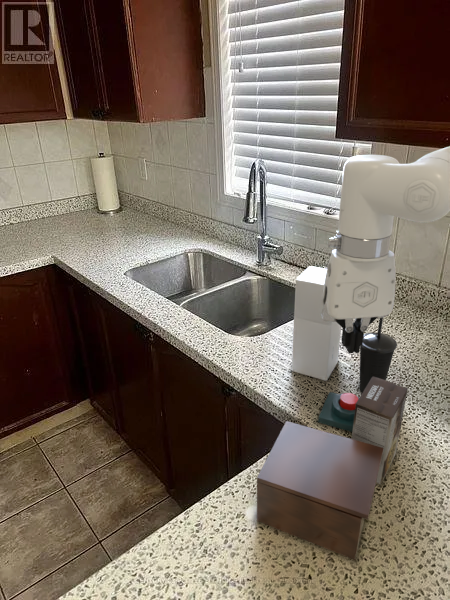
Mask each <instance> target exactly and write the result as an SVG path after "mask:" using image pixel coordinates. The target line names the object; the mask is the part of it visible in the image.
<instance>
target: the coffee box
mask: <svg viewBox="0 0 450 600" xmlns="http://www.w3.org/2000/svg"><path fill="white" fill-rule="evenodd" d="M408 390H409V388H408V387H406V386H403V385H400V384H397V383H394V382H392V381H389V380H387V379H386V380H383V379H380V378H377V377H372V378H371V380H370V381H369V383H368V385H367V386H366V388H365V389H364V391H363V393H361V394H360V396H359V399H358V401H357V402H356V407H355V414H354V423H353V431H352V432H351V439H353V440H357V441H361V442H364V443H368V444H371V445H375V446H379V447H382V448H384V449H383V454H382V459H381V463H380V468H379V472H378V477H377V481H376V484H379V485H381V484H383V482H384V480H385V478H386V476H387V473H388V472H389V470H390V467H391V465H392V463H393V461H394V458H395V456H396V454H397V450H398V446H399V445H398V444H399V439H400V433H401V427H402V423H403V417H404V413H405V412H404V411H405V405H406V401H407V394H408Z"/></svg>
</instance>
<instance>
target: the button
mask: <svg viewBox="0 0 450 600" xmlns="http://www.w3.org/2000/svg"><path fill="white" fill-rule="evenodd" d="M341 394H342V395H341V396H340V406H341V407H342V408H343V409H346V410H355V407H356V402H357V401H358V397H359V396H358V395H357V394H354V393H352V392H343V393H341ZM357 396H358V397H357Z"/></svg>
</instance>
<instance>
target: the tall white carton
mask: <svg viewBox="0 0 450 600" xmlns="http://www.w3.org/2000/svg"><path fill="white" fill-rule="evenodd" d="M326 271H327V268H323V267H318V266H311V265H309V266H308V267H307V268H306V269H305V270H303V272H302V273H301V274H300V275H299V276H298V277H296V279H295V289H294V290H295V291H294V313H293V329H292V330H293V331H292V333H293V334H292V352H291V353H292V355H291V371H292V372H295V373H297V374H301V375H304V376H308V377H311V378H315V379H319V380H322V381H325V382H327V381H328V379H329V378H330V376H331V375H332V373H333V371H334V370H335V368H336V366H337V364H338V363H339V356H340V355H339V354H340V344H341V335H342V327H341V326H340V325H339V324H338V323H337V322H330V321H324V320H323V318H322V316H321V313H322V310H323V307H324V305H323V288H324V282H325V276H326Z"/></svg>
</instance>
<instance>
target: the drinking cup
mask: <svg viewBox="0 0 450 600" xmlns="http://www.w3.org/2000/svg"><path fill="white" fill-rule="evenodd" d="M383 321H384V317H382V318H379V319H378V327H377V332H374V331H373V332H366V333H364V336H363V344H362V345H360V351H359V387H358V389H359V391H360V393H361V394H362V393H363V391H364V389H365V388H366V386H367V385H368V383H369V381H370V380H371V378H372V377H377V378H380V379H383V380H386V381H387V377H388V373H389V370H390V367H391V364H392V361H393V358H394V357H393V356H394V353H395V351H396V350H397V347H398V342H397V340H396V339H395V338H394V337H393V336H390V335H388V334H385V333H383V332H382V329H383Z"/></svg>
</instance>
